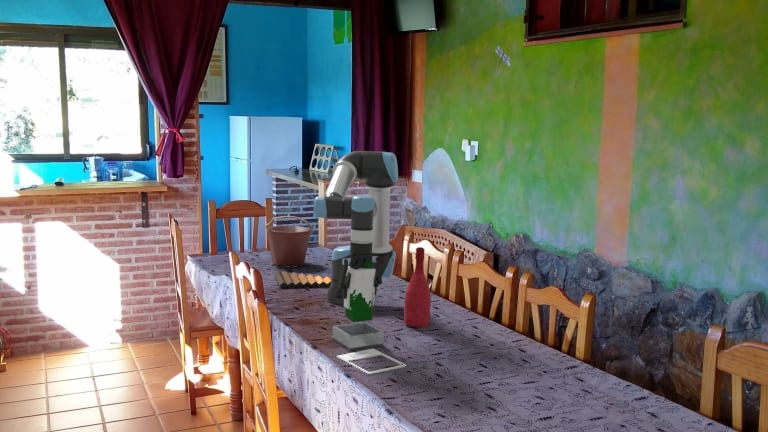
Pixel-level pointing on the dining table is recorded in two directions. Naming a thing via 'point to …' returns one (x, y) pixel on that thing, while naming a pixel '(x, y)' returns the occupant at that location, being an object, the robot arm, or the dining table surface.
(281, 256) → the bucket
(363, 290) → the soya milk
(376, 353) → the photo frame
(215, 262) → the dining table surface
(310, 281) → the pan flute
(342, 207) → the robot arm
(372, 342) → the collar
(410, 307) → the wine bottle
